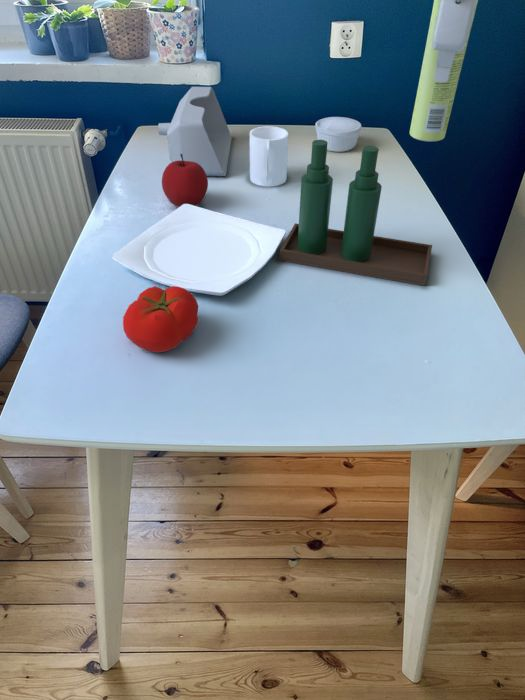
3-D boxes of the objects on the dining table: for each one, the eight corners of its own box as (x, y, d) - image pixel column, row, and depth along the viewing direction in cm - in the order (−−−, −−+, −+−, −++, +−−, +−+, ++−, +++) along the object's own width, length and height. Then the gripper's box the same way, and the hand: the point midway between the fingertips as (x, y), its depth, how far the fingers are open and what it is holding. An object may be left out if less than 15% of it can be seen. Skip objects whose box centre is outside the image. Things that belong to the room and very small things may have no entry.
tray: (429, 255, 97) (432, 244, 96) (424, 286, 90) (427, 275, 88) (294, 233, 102) (294, 223, 101) (279, 260, 95) (279, 250, 94)
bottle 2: (372, 250, 97) (389, 144, 84) (367, 265, 93) (385, 157, 81) (344, 245, 98) (356, 140, 85) (338, 260, 94) (350, 152, 82)
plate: (294, 242, 100) (295, 229, 98) (226, 313, 84) (225, 299, 82) (184, 211, 108) (183, 199, 107) (103, 271, 92) (100, 257, 90)
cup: (248, 193, 115) (247, 147, 108) (250, 170, 124) (250, 125, 117) (286, 194, 115) (288, 147, 108) (286, 171, 124) (288, 126, 117)
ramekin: (308, 139, 139) (309, 118, 135) (349, 135, 141) (351, 114, 137) (322, 155, 130) (324, 133, 127) (365, 151, 133) (368, 130, 129)
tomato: (116, 350, 77) (108, 314, 73) (153, 306, 85) (148, 271, 80) (177, 366, 75) (172, 330, 70) (210, 320, 82) (207, 285, 78)
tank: (169, 136, 139) (164, 84, 131) (231, 137, 139) (230, 85, 131) (153, 177, 121) (146, 120, 112) (225, 178, 120) (222, 120, 112)
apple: (157, 210, 109) (151, 162, 102) (173, 191, 115) (168, 144, 109) (200, 216, 107) (197, 167, 101) (214, 196, 114) (212, 149, 107)
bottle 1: (328, 242, 99) (339, 138, 86) (322, 257, 95) (332, 150, 82) (301, 238, 100) (307, 134, 87) (294, 252, 96) (299, 146, 84)
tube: (411, 126, 79) (443, -36, 66) (446, 131, 78) (486, -34, 65) (406, 140, 75) (439, -30, 62) (443, 145, 74) (485, -27, 61)
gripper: (501, -46, 54) (464, 100, 63) (498, -64, 68) (468, 57, 77) (437, -49, 55) (410, 94, 64) (447, -66, 70) (423, 53, 79)
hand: (442, 74), depth 71 cm, fingers closed on tube, 5 cm apart
